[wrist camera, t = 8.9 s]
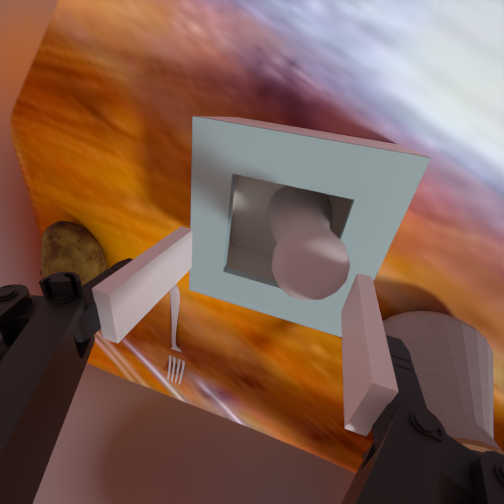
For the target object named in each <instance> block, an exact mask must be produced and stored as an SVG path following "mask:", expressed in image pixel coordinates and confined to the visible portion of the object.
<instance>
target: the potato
mask: <svg viewBox="0 0 504 504" xmlns="http://www.w3.org/2000/svg"><path fill="white" fill-rule="evenodd" d="M41 247H42V248H41V259H42V270H41V275H42V279H43V278H44V277H46V276H49V275H51V274H54V273H58V272H74V273H76V274H78V275H79V277H80V279H81V283H82V286H83V285H84V284H86V283H87V282H89V281H90V280H92V279H93V278H95V277H96V276H98V275H99V274H101V273H103V272H104V271H105V270H106V269H107V262H106V258H105V255H104V253H103V251H102V249H101V247H100V245H99V244H98V243H97V241H96V240H95V239H94V238H93V237H92V236H91V235H90V234H89V233H88V232H87V231H85V230H84V229H83V228H82V227H80V226H79V225H77V224H75V223H72V222H67V221H59V222H56V223H54V224H52V225H51V226H49V227H48V228H47V229H46V230H45V231H44V233H43V236H42V246H41Z"/></svg>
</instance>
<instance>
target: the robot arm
mask: <svg viewBox="0 0 504 504" xmlns="http://www.w3.org/2000/svg"><path fill="white" fill-rule="evenodd" d="M192 234H193V229H189V228H185V227H180V228H178V229H177V230H175V231H174V232H172V233H171V234H170V235H168V236H167V237H165V238H164V239H162V240H161V241H159V242H158V243H157V244H155V245H154V246H152V247H151V248H149V249H148V250H147V251H145V252H144V253H142V254H141V255H139V256H138V257H136V258H135V259H134V260H133V259H130V258H128V259H126V260H123V261H120V262H118V263H116V264H115V265H113V266H112V267H110V269H107V270H105V271H104V272H103V273H101V274H99V275H98V276H96V277H95V278H93V279H92V280H90V281H89V282H87V283H86V284H84V285H83V286H82V283H81V279H80V277H79V275H78V274H76V273H74V272H58V273H54V274H51V275H49V276H46V277H44V278H43V279H42V280H41V281H40V282H39V283H40V286H41V289H42V292H43V295H44V296H34V295H33V296H32V295H30V293H29V290H28V288H27V287H26V286H23V285H7V286H3V287H0V337H1V338H0V504H33V501H34V498H35V496H36V493H37V491H38V488H39V485H40V483H41V480H42V478H43V475H44V472H45V470H46V467H47V464H48V462H49V459H50V456H51V454H52V451H53V449H54V446H55V444H56V441H57V438H58V436H59V433H60V430H61V428H62V425H63V423H64V420H65V417H66V415H67V412H68V410H69V407H70V404H71V402H72V399H73V397H74V394H75V391H76V389H77V386H78V384H79V381H80V378H81V376H82V373H83V371H84V368H85V365H86V363H87V360H88V358H89V355H90V352H91V350H92V347H93V344H94V341H95V337H94V334H95V333H96V332H97V331H98V330H100V329H101V332H102V337H103V338H104V339H107V340H109V341H112V342H115V343H117V344H118V343H119V342H120V341H121V340H122V339H123V338H124V337H125V336H126V335H127V334H128V333H129V331H130V330H131V329H132V328H133V327H134V326H135V325H136V324H137V323H138V322H139V321H140V320H141V319H142V318H143V317H144V316H145V315H146V314H147V313H148V312H149V311H150V310H151V309H152V308H153V307H154V306H155V305H156V304H157V303H158V302H159V301H160V300H161V299H162V297H163V296H164V295H165V294H166V293H167V292H168V291H169V290H170V289H171V288H172V287H173V286H174V285H175V284H176V283H177V282H178V281H179V280H180V279H181V278H182V277H183V276H184V275H185V274H186V273H187V272H188V271H189V270H190V269H191V268H192ZM341 324H342V359H343V394H344V428H345V429H347V430H350V431H353V432H355V433H358V434H361V435H363V436H367V435H368V433H369V432H370V431H371V429H372V431H373V440H374V442H373V444H372V445H371V446H370V447H369V449H368V450H367V451H366V453H365V454H364V455H363V457H362V458H363V459H364V460H363V462H362V464H361V466H360V467H359V469H358V471H357V473H356V475H355V478H354V480H353V482H352V483H351V485H350V487H349V490H348V491H347V493H346V495H345V497H344V499H343V501H342V503H341V504H504V455H503V454H500V453H498V452H495V451H485V452H484V453H482V454H481V455H478V454H477V453H475V452H473V451H472V450H470V449H469V448H467V447H465V446H464V445H462V444H461V443H459V442H457V441H456V440H454V439H453V438H452V437H450V436H449V435H447V433H446V431H445V429H444V426H443V425H442V423H441V422H440V421H439V420H438V418H437V417H436V416H435V415H434V414H433V413H432V412H430V411H429V410H428V409H427V406H426V403H425V400H424V397H423V394H422V390H421V387H420V384H419V381H418V378H417V375H416V373H415V368H414V365H413V363H412V359H411V356H410V352H409V350H408V349H407V347H406V346H405V344H404V343H403V342H402V340H401V339H398V338H395V337H392V336H388V335H385V331H384V326H383V322H382V318H381V313H380V309H379V305H378V300H377V296H376V292H375V287H374V283H373V279H372V277H371V276H367V275H363V274H360V273H357V275H356V277H355V279H354V282H353V284H352V287H351V289H350V291H349V294H348V296H347V298H346V301H345V303H344V306H343V308H342V310H341Z"/></svg>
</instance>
